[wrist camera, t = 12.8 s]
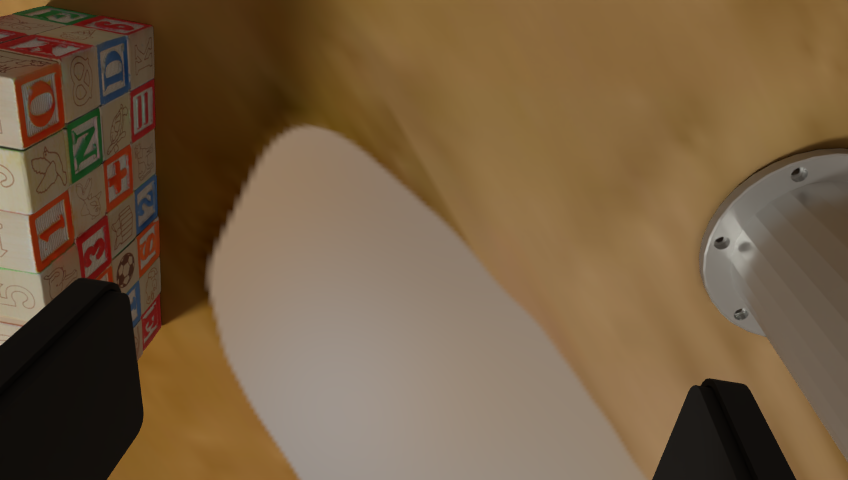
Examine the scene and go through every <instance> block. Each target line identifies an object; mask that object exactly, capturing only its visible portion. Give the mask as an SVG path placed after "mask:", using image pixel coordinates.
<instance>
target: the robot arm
mask: <svg viewBox="0 0 848 480" xmlns="http://www.w3.org/2000/svg"><path fill="white" fill-rule="evenodd" d="M795 169H796V170H795ZM794 170H795V171H794ZM793 171H794V172H793ZM719 237H720V238H719ZM699 265H700V274H701V278H702V281H703V285H704V288H705V289H706V291H707V293H708V295H709V297H710V299H711V301H712V302H713V303H714V305H715V306H716V307H717V309H718V310H719V311H720V313H721V314H722V315H723V316H725V317H726V318H727V319H728V320H729V321H730V322H732V323H733V324H735V325H737V326H739V327H741V328H743V329H744V330H746V331H748V332H751V333H754V334H758V335H761V336H764V337H767V338H768V340H769V341H770V343H771V344H772V346H773V347H774V349H775V351H776V352H777V354H778V355H779V357H780V358H781V360H782V361H783V363H784V364H785V366H786V367H787V369H788V371H789V372H790V374H791V375H792V377H793V378H794V380H795V381H796V383H797V384H798V386H799V388H800V389H801V391H802V392H803V394H804V395H805V397H806V398H807V400H808V401H809V403H810V404H811V406H812V408H813V409H814V411H815V412H816V414H817V415H818V417H819V418H820V420H821V421H822V423H823V425H824V426H825V428H826V429H827V431H828V432H829V434H830V435H831V437H832V438H833V440H834V442H835V443H836V445H837V446H838V448H839V449H840V451H841V452H842V454H843V455H844V457H845V458H846V460H847V462H848V149H843V148H838V149H820V150H814V151H810V152H805V153H801V154H796V155H793V156H791V157H788V158H785V159H783V160H780V161H778V162H775V163H773V164H771V165H769V166H767V167H766V168H764V169H762V170H760V171H759V172H757V173H755V174H753V175H752V176H751V177H749V178H748V179H747V180H746V181H744V182H743V183H742V184H741V185H739V186H738V187H737V188H735V189H734V190H733V192H732V193H731V194H730V195H729V196H728V197H727V198H726V199H725V200H724V201H723V202H722V203H721V204H720V206H719V208H718V209H717V211H716V212H715V214H714V215H713V217H712V218H711V220H710V221H709V224H708V226H707V229H706V231H705V233H704V236H703V238H702V243H701V248H700V254H699ZM142 422H143V404H142V396H141V387H140V379H139V371H138V363H137V355H136V346H135V338H134V330H133V322H132V313H131V305H130V299H129V296H128V295H127V294H125V293H121V289H120V287H119V285H118V284H116V283H114V282H108V281H102V280H95V279H89V278H78V279H77V280H75V281H73V282H72V283H71V284H70V285H69V286H68V287H67V288H65V289H64V290H63V291H62V292H61V293H60V294H59V295H57V296H56V297H55V298H54V299H53V300H52V301H51V302H50V303H48V304H47V305H46V306H45V307H44V308H43V309H42V310H40V311H39V312H38V313H37V314H36V315H35V316H34V317H32V318H31V319H30V320H29V321H28V322H27V323H26V324H24V325H23V326H22V327H21V328H20V329H19V330H18V331H16V332H15V333H14V334H13V335H12V336H11V337H10V338H8V339H7V340H6V341H5V342H4V343H3V344H2V345H0V480H107V478H108V477H109V475H110V474H111V472H112V471H113V470H114V468H115V467H116V465H117V464H118V462H119V461H120V459H121V458H122V456H123V455H124V454H125V452H126V451H127V449H128V448H129V446H130V445H131V443H132V442H133V440H134V439H135V438H136V436H137V434H138V433H139V431H140V428H141V425H142ZM652 480H796V478H795V476H794V474H793V472H792V470H791V469H790V467H789V465H788V463H787V461H786V459H785V457H784V455H783V453H782V451H781V449H780V447H779V445H778V443H777V441H776V439H775V438H774V436H773V434H772V432H771V430H770V428H769V426H768V424H767V422H766V420H765V418H764V416H763V414H762V412H761V410H760V409H759V407H758V405H757V403H756V401H755V399H754V397H753V395H752V393H751V391H750V390H749V388H748V387H747V386H746V385H744V384H741V383H735V382H728V381H722V380H716V379H710V378H709V379H706V380H705V381H704V382H703V383H702V384H701V386H696V385H695V386H692V387H691V388H690V390H689V392H688V394H687V397H686V399H685V402H684V404H683V407H682V409H681V411H680V414H679V416H678V419H677V421H676V424H675V426H674V428H673V431H672V433H671V436H670V438H669V440H668V443H667V445H666V448H665V450H664V453H663V455H662V457H661V460H660V462H659V465H658V467H657V470H656V472H655V474H654V477H653V479H652Z"/></svg>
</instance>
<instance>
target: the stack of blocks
mask: <svg viewBox="0 0 848 480" xmlns="http://www.w3.org/2000/svg"><path fill="white" fill-rule="evenodd" d="M154 74H155V73H154V35H153V26H152V25H147V24H142V23H137V22H132V21H126V20H121V19H116V18H111V17H105V16H95V15H90V14H85V13H80V12H75V11H70V10H65V9H60V8H54V7H50V6H42V7H37V8H33V9H29V10H25V11H21V12H17V13H13V14H12V15H7V16H2V17H0V345H2V344H3V343H4V342H5V341H6V340H7V339H8V338H10V337H11V336H12V335H13V334H14V333H15V332H16V331H18V330H19V329H20V328H21V327H22V326H23V325H24V324H26V323H27V322H28V321H29V320H30V319H31V318H32V317H34V316H35V315H36V314H37V313H38V312H39V311H40V310H42V309H43V308H44V307H45V306H46V305H47V304H48V303H50V302H51V301H52V300H53V299H54V298H55V297H56V296H57V295H59V294H60V293H61V292H62V291H63V290H64V289H65V288H67V287H68V286H69V285H70V284H71V283H72V282H73V281H75V280H77V279H78V278H89V279H95V280H102V281H108V282H114V283H116V284H118V285H119V287H120V289H121V293H125V294H127V295H128V296H129V299H130V305H131V313H132V322H133V330H134V338H135V346H136V355H137V361H138V359H139V358H140V357H141V355H142V354H143V351H144V350H145V348H146V347H147V346H148V344H149V343H150V342H151V341H152V339H153V338H154V336H155V335H156V334H157V332H158V331H159V329H160V328H161V307H160V294H159V293H160V292H161V273H160V258H159V255H160V235H159V217H158V216H157V214H158V206H157V176H156V157H155V131H154V128H155V126H156V124H155V87H154Z"/></svg>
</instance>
